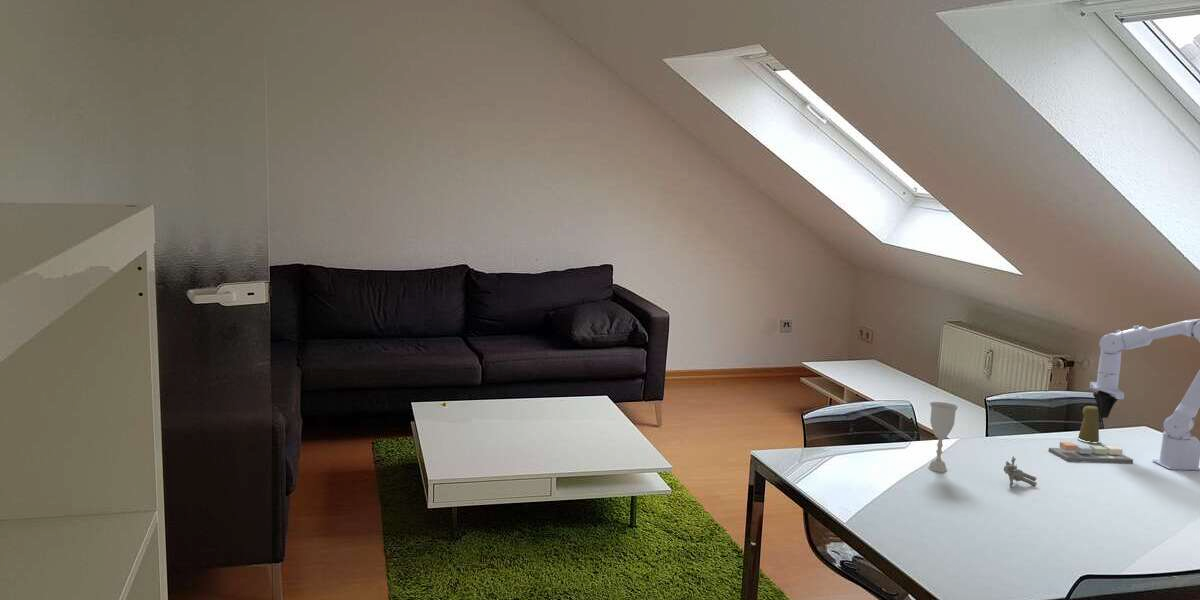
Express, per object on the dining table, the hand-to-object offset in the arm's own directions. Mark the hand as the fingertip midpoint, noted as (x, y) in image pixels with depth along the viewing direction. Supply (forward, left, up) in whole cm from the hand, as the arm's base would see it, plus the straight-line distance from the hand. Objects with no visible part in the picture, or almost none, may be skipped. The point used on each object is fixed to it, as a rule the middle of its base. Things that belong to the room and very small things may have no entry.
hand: (1103, 417), depth 291 cm
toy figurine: (+43, +34, -11) cm, 56 cm away
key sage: (+5, +7, -9) cm, 12 cm away
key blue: (+9, +7, -9) cm, 15 cm away
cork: (-3, -11, -11) cm, 16 cm away
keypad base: (+7, +7, -10) cm, 14 cm away
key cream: (0, +7, -9) cm, 11 cm away
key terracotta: (+14, +7, -8) cm, 18 cm away
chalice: (+60, +23, -11) cm, 65 cm away
